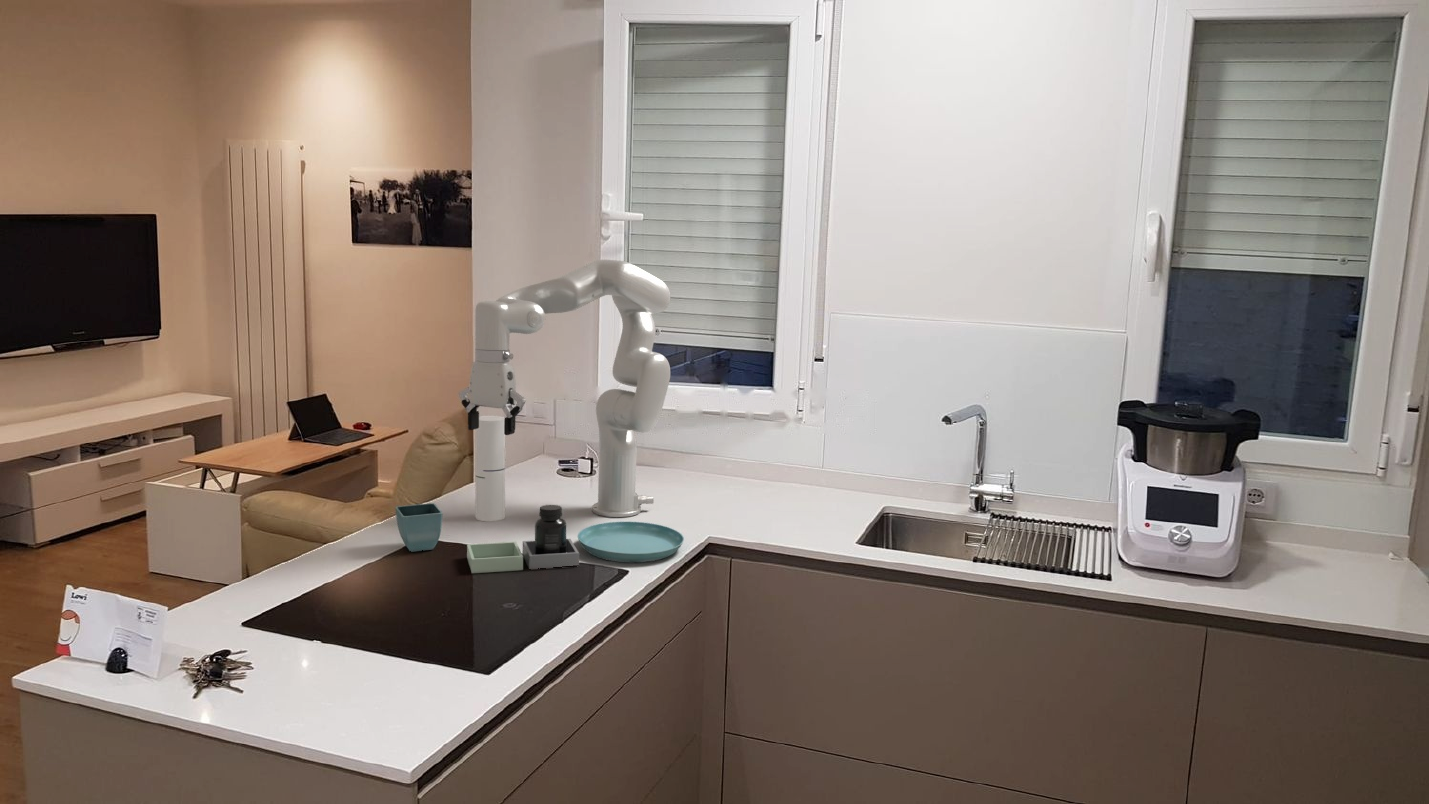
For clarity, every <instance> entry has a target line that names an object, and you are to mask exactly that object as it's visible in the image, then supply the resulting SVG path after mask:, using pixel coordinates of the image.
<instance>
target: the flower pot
mask: <svg viewBox="0 0 1429 804" xmlns="http://www.w3.org/2000/svg"><path fill="white" fill-rule="evenodd" d="M394 509H395V517H396V523H397V529H398V532H399V535H400V538H401V540H402V541H403V543H404V545H405V547H406V548H407V550H408V551H409V552H410V551H411V553H413V552H423V551H430V550H434V549H435V547H436V545H437V544H438V542H439V540H440V536H441V533H442V525H443V524H442V523H443V515H444V514H443V513H444V512H443V511H442V510H441V509H440V508H439V507H438V506H437V505H436V503H434V502H431V503H430V502H429V503H418V504H411V505H409V504H407V505H398V506H395V508H394ZM422 550H423V551H422Z"/></svg>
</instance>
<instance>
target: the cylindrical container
mask: <svg viewBox="0 0 1429 804" xmlns="http://www.w3.org/2000/svg"><path fill="white" fill-rule="evenodd" d="M505 418H506V416H500V415H481V416H480V415H479V428H478V429H475V453H474V454H475V459H474V460H475V465H474V466H475V469H474V470H475V471H474V472H475V474H474V475H475V478H474V479H475V480H474V481H475V489H474V490H475V492H474V493H475V500H474V501H475V502H474V503H475V505H474V506H475V513H474V514H475V515H474V516H475V517H474V518H475V519H476V520H478V521H482V522H497V521H502V520H504V519H505V516H506V510H505V509H506V435H505V434H504V419H505Z"/></svg>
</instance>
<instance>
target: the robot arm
mask: <svg viewBox="0 0 1429 804" xmlns="http://www.w3.org/2000/svg"><path fill="white" fill-rule="evenodd" d="M670 292H671V291H670V289H669V287H668V285H667V284H666V282H664V281H663V280H661V279H660V278H658V277H656V276H655V275H653V274H651V273H649V272H648V271H646V270H644V269H642V268H640V267H639V266H637V265H634V264H633V263H630V262H628V261H625V260H616V259H615V260H614V259H598V260H597V259H596V260H595V261H591V262H590V263H588V264H586V265H583V266H582V267H581V266H580V267H579V268H577V269H575V270H573V271H571V272H569V273H566V274H564V275H561V276H560V277H557V278H553V279H548V280H544V281H542V282H539V283H534V284H530V285H528V286H524V287H521V288H519V289H516V290H513V291H512V292H510V293H507V294H504V295H503V296H500V297H499V298H498V299H496V300H492V301H491V300H488V301H487V300H485V301H480V302H478V303H477V304H476V305H475V310H474V311H475V315H474V317H475V319H474V320H475V321H474V323H475V324H474V325H475V326H474V327H475V329H474V330H475V331H474V332H475V333H474V335H475V336H474V342H475V344H474V361H473V362H472V365H471V369H470V375H469V383H468V384H469V385H468V387H466V388H464V389H461V390H459V391H458V394H457V395H458V396H459V400H460V401H461V405H462V406H463V407H464V409H465V412H466V413H467V425H468V426H467V427H468V428H467V429H468V430H469V431H473V430H476V429H478V428H479V416H480V411H479V410H478V409H479V408H480V407H484V408H493V409H501V410H502V411H503V412H504V414H505V415H506V416H505V419H504V434H505V436H509V435H513V434H514V433H515V432H516V418H517V417H518V416H519V413H521V412H522V410H523V408H524V406H525V404H526V401H527V399H526V397H524V396H522V395H521V394H520V393H518V392H517V386H516V385H517V383H516V375H515V370H514V365H513V363H512V362H511V363H510V360H513V359H514V354H513V353H510V352H511V351H510V334H512V333H513V334H521V335H532V334H534V333H537V332H538V331H540V330H542V328H543V327H544V325H545V321H546V314H561V313H562V314H563V313H568V312H573V311H577V310H578V309H580V308H582V307H584V306H586V305H588V304H590V303H592V302H595V301H597V300H598V299H601V298H602V297H605V296H611V297H612V301H613V303H614V305H615V307H616V308H617V309H618V312H619V314H620V315H619V316H620V317H621V322H622V330H621V334H620V339H619V342H618V346H617V351H616V353H615V358H614V361H613V365H612V376H613V379H614V380H615V381H616V382H617V383H619V384H621V385H624V386H629V387H634V388H636V389H635V392H633V391H631V390H625V389H621V388H611V389H607V390H605V391H604V392H603V393H602V394H601V395H599V397H598V399H597V401H596V406H595V412H596V413H595V414H596V420H597V425H598V437H599V440H598V443H599V445H598V447H599V448H598V450H599V451H598V488H597V489H598V492H597V493H598V494H597V497H598V498H597V502H595V503H593V504H592V505H591V511H592V513H594V514H595V515H598V516H603V517H609V518H627V517H633V516H636V515H638V514H640V513H641V511H642V505H644V504H646V505H651V504H652V505H653V504H654V496H652V495H651V496H650V495H648V496H647V495H646V494H644V495H643V494H641V495H638V493H636V485H637V484H636V481H637V454H638V453H637V449H638V448H637V447H638V446H637V445H638V443H637V437H636V434H635V432H636V433H641V434H642V433H648V432H650V431H652V430H653V429H654V428H655V427H656V425H657V424H658V422H659V420H660V417H661V414H662V411H663V406H664V403H665V400H666V395H667V392H668V388H669V384H670V380H671V367H670V363H669V361H668V359H667V358H666V356H664V355H663V354H661V353H659V352H656V351H653V348H654V342H655V339H656V324H655V321H654V317H653V314H654V315H655V314H656V315H657V314H661V313H663V312H665V310H666V309H667V308H668V307H669V305H670V302H671V293H670Z"/></svg>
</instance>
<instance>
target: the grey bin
mask: <svg viewBox="0 0 1429 804" xmlns="http://www.w3.org/2000/svg"><path fill="white" fill-rule="evenodd" d="M566 552H567V553H557V554H540V555H535V540H523V541H522V555H523V560H525V563H526V565H527V567H528V569H531V570H541V569H540V568H546V569H554V568H553V567H562V566H573V565H579V566H580V552H579V550H578V549H577V548H576V546H575V544H574V543H573V541H572V539H571V538H566ZM538 568H539V569H538ZM562 568H563V567H562Z"/></svg>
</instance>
